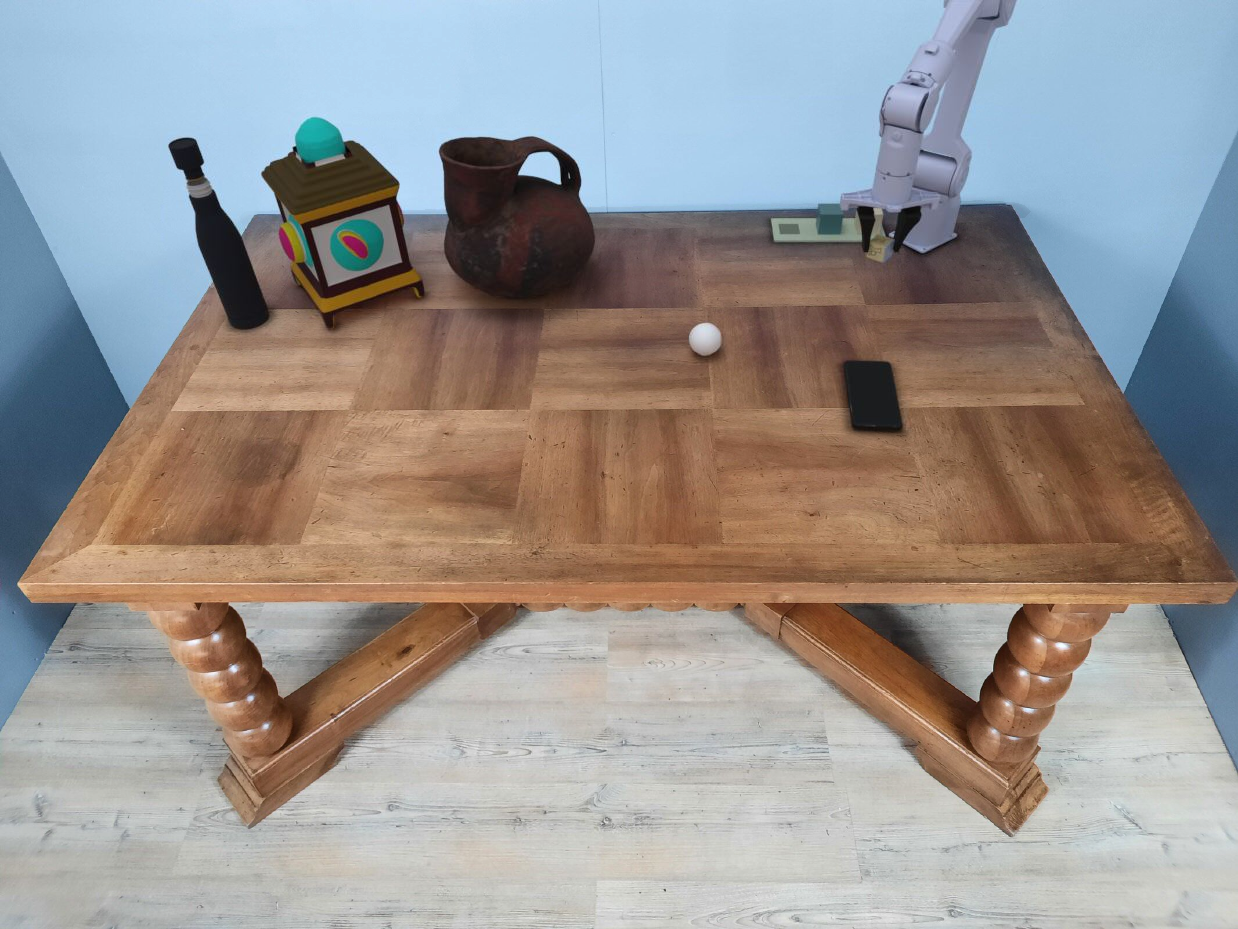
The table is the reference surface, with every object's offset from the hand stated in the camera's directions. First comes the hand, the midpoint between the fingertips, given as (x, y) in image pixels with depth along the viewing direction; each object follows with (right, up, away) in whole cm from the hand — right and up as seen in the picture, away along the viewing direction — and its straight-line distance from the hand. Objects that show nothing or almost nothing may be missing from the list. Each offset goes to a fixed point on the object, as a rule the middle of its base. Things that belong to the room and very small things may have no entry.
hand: (879, 249), depth 140 cm
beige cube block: (+4, +9, +20) cm, 22 cm away
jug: (-58, -3, +12) cm, 59 cm away
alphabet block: (0, -1, +1) cm, 2 cm away
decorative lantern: (-86, -5, +11) cm, 87 cm away
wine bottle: (-103, -10, +6) cm, 104 cm away
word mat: (-3, +8, +21) cm, 23 cm away
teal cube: (-3, +9, +20) cm, 22 cm away
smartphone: (-5, -25, -13) cm, 28 cm away
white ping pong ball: (-28, -17, -4) cm, 33 cm away
